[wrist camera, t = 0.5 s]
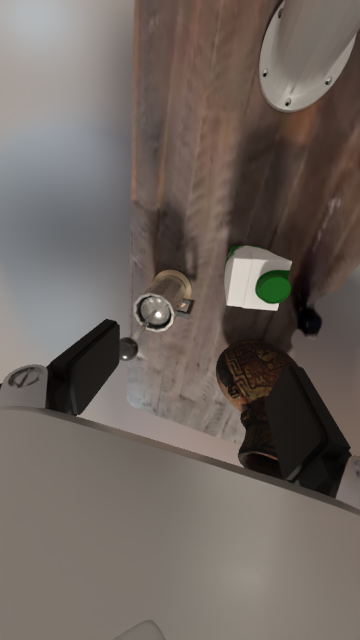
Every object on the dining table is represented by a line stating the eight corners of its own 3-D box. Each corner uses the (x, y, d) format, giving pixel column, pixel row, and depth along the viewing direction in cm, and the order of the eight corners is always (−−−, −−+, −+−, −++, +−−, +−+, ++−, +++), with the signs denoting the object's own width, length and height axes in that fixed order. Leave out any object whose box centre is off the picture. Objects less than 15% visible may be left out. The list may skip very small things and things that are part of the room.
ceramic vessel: (306, 349, 50) (396, 486, 24) (264, 386, 59) (297, 516, 33) (238, 313, 49) (254, 415, 23) (206, 356, 58) (193, 465, 32)
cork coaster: (154, 265, 48) (154, 265, 47) (195, 275, 47) (195, 275, 46) (150, 303, 53) (149, 303, 53) (187, 312, 52) (186, 313, 52)
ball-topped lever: (143, 293, 37) (98, 332, 24) (172, 300, 36) (143, 344, 23) (140, 319, 40) (100, 366, 27) (167, 326, 39) (140, 378, 26)
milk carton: (260, 282, 44) (283, 320, 27) (222, 279, 46) (221, 314, 28) (269, 243, 40) (304, 259, 23) (227, 241, 42) (230, 255, 24)
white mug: (158, 271, 48) (135, 289, 35) (199, 281, 47) (191, 303, 34) (154, 300, 52) (132, 325, 39) (192, 310, 51) (183, 339, 38)
